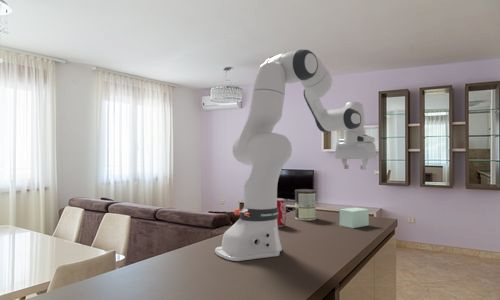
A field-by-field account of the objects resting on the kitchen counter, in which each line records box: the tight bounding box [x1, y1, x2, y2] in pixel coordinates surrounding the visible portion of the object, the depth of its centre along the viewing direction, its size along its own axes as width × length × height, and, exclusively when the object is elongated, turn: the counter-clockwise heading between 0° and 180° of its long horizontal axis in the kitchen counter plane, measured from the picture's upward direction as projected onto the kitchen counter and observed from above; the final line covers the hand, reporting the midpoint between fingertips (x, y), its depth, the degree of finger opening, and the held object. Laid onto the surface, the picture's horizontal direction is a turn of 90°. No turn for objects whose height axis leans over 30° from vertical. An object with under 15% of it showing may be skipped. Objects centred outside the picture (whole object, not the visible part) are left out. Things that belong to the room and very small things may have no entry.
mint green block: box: [339, 207, 370, 229], centre depth 153 cm, size 11×7×7 cm
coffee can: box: [294, 188, 317, 221], centre depth 169 cm, size 10×10×14 cm
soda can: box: [277, 197, 287, 228], centre depth 152 cm, size 7×7×12 cm
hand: (354, 169), depth 153 cm, fingers open, 8 cm apart
